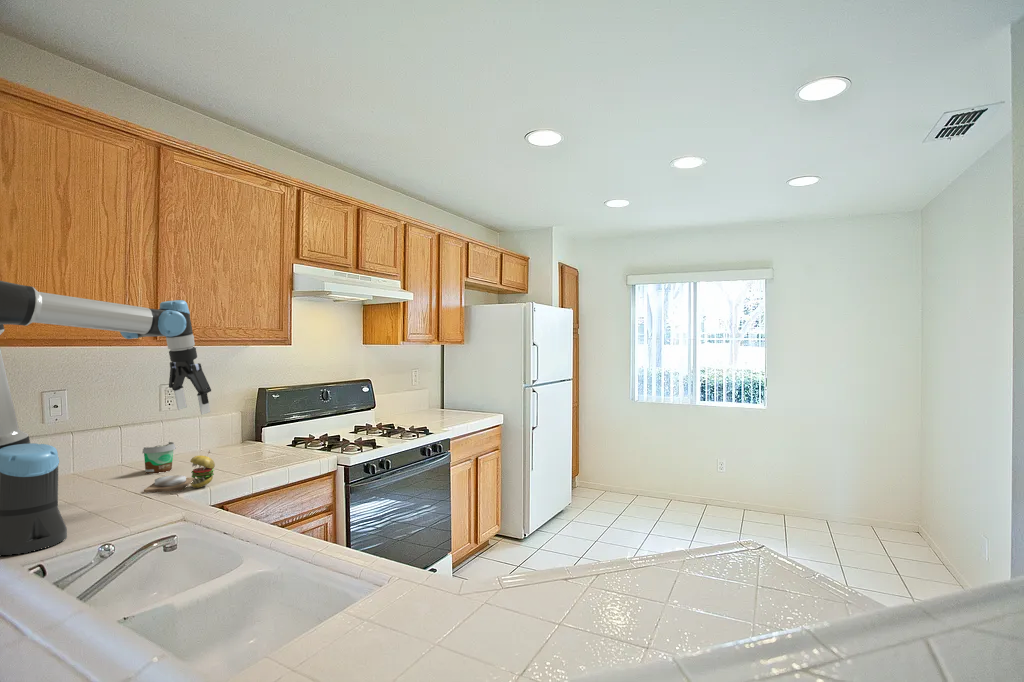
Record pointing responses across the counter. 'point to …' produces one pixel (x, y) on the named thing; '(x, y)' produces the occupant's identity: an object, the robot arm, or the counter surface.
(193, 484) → the hamburger
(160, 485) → the soap dish
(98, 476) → the counter surface
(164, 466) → the food container
